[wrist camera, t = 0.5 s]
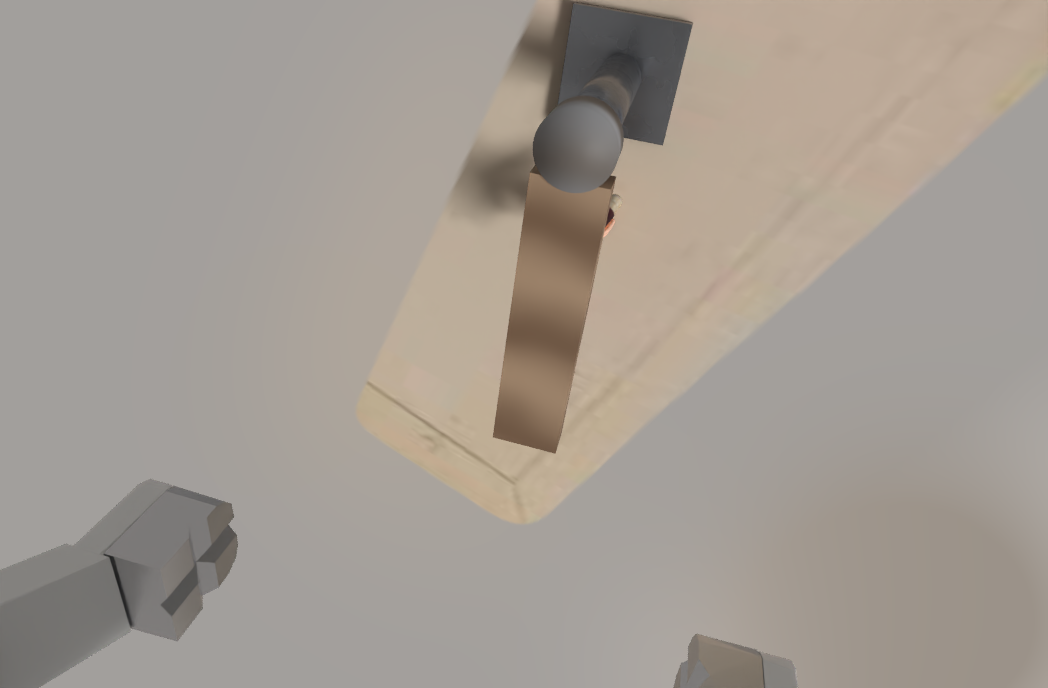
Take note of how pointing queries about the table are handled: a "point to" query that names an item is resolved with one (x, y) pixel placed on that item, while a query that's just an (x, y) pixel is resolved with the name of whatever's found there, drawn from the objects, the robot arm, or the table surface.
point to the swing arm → (556, 267)
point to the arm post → (626, 65)
